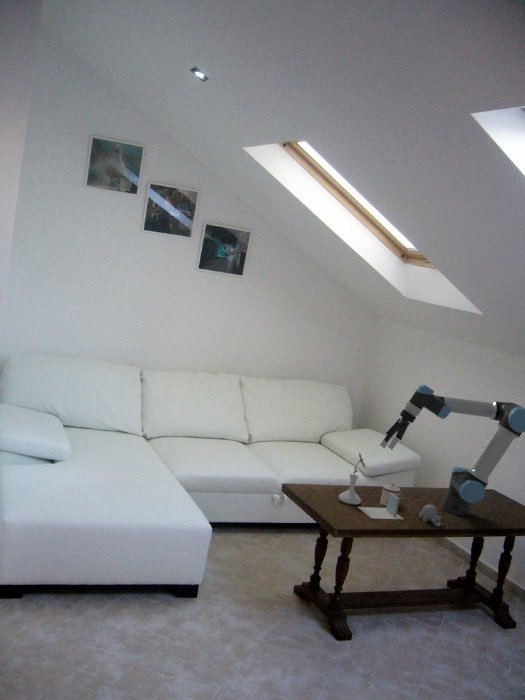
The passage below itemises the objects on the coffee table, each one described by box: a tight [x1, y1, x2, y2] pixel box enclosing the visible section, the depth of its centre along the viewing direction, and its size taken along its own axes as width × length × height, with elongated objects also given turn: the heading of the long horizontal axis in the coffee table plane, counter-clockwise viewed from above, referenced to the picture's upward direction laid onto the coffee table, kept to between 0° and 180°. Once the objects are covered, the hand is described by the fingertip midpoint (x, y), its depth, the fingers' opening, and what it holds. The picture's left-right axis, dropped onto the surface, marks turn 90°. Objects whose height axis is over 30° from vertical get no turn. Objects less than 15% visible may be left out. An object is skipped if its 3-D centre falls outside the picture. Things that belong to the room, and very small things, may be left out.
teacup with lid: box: [379, 482, 403, 507], centre depth 350 cm, size 12×9×12 cm
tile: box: [385, 493, 401, 516], centre depth 335 cm, size 2×7×9 cm, turn 21°
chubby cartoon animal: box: [418, 504, 443, 527], centre depth 332 cm, size 7×12×8 cm, turn 32°
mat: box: [357, 506, 404, 520], centre depth 334 cm, size 18×14×1 cm
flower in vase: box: [337, 452, 366, 505], centre depth 343 cm, size 13×11×25 cm
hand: (385, 447), depth 344 cm, fingers open, 13 cm apart
